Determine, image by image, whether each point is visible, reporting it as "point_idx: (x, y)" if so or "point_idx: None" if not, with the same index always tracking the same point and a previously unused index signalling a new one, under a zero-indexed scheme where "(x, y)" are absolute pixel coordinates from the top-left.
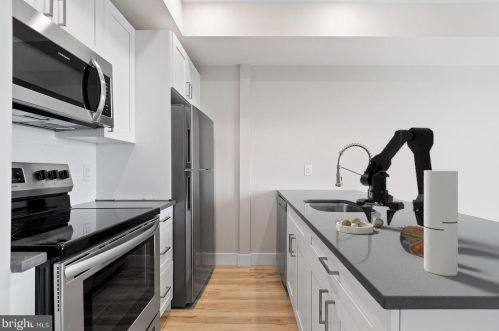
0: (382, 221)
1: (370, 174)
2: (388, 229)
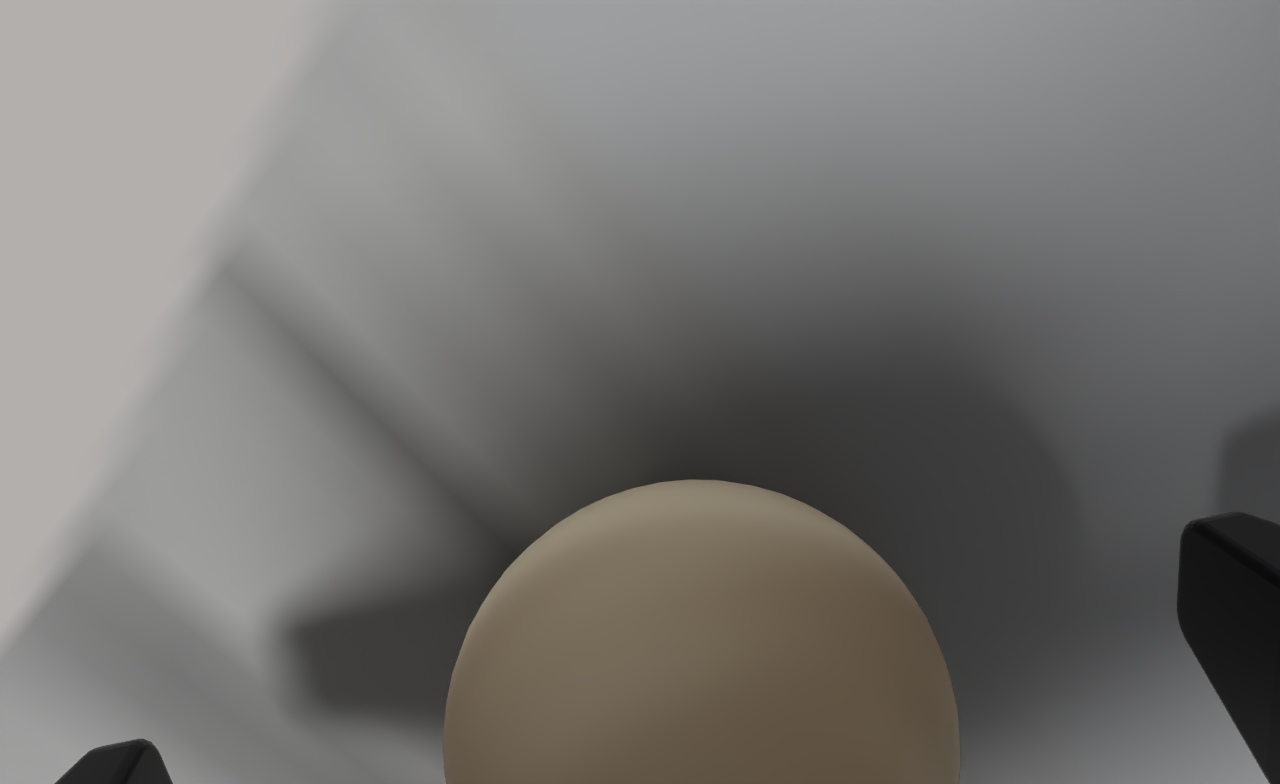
0: (955, 779)
1: None
2: None
